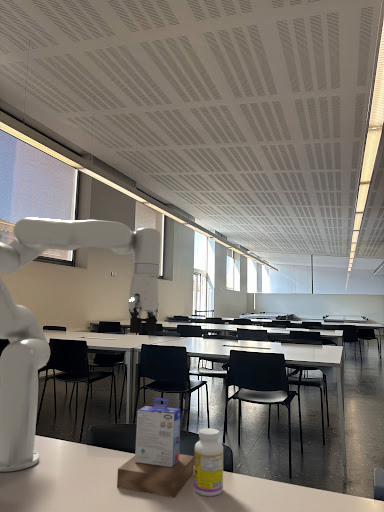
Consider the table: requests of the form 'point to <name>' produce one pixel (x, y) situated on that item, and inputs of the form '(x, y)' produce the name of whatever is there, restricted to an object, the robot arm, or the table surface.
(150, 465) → the walnut block
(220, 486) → the supplement bottle
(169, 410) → the ink cartridge box
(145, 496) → the table surface
